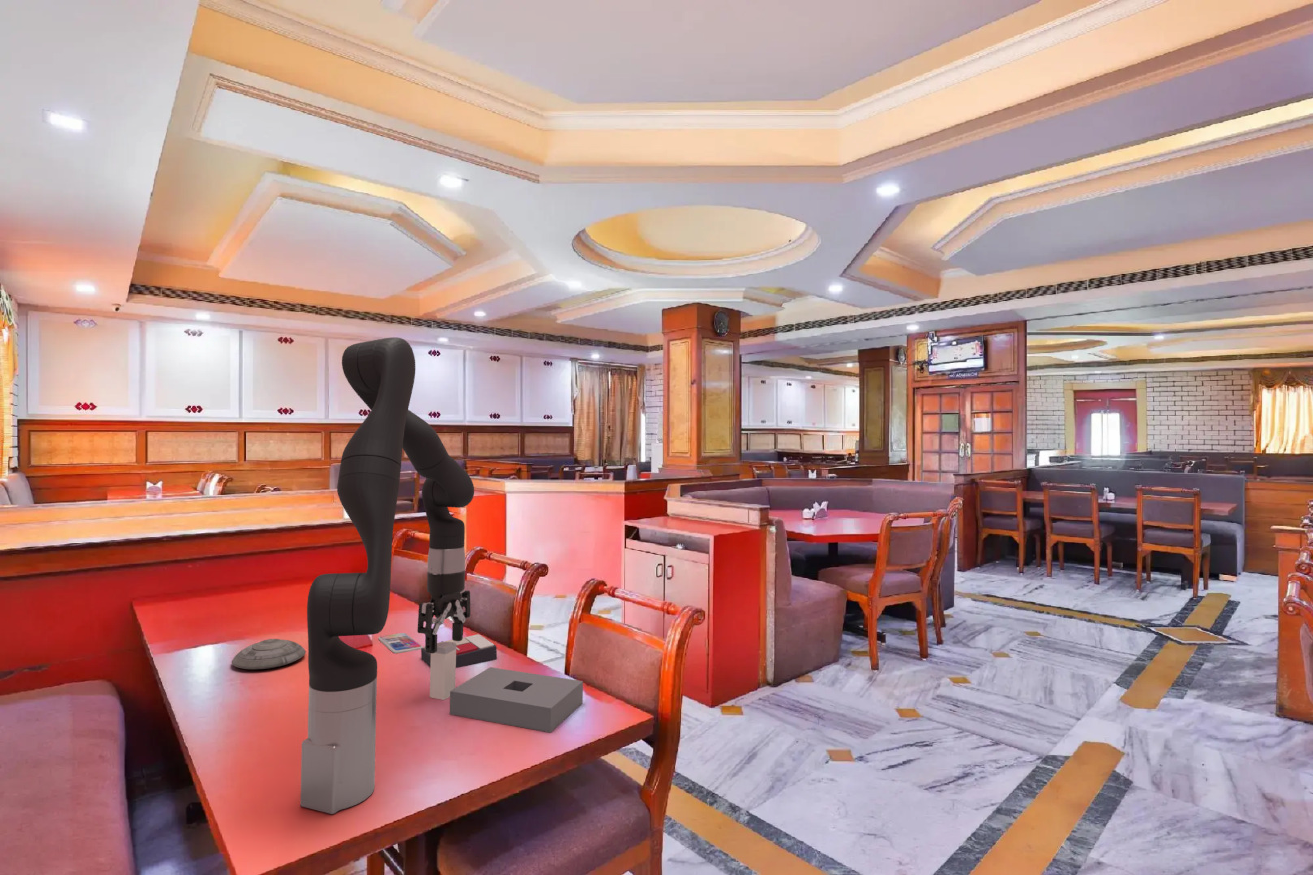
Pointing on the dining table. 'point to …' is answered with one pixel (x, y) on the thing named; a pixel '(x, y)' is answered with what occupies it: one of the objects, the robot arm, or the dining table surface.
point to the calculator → (469, 651)
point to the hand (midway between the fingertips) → (444, 646)
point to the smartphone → (400, 643)
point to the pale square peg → (443, 670)
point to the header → (517, 699)
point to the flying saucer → (268, 654)
